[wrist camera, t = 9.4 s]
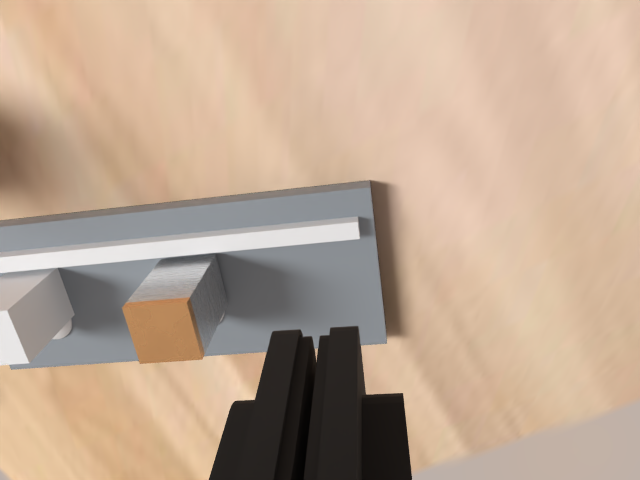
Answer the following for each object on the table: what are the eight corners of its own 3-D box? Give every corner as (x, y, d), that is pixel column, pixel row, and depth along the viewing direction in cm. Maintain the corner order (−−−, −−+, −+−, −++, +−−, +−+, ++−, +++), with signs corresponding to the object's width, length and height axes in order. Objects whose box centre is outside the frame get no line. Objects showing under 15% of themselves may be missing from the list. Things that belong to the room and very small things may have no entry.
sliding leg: (160, 259, 38) (121, 307, 32) (216, 253, 38) (186, 302, 31) (177, 317, 40) (143, 374, 34) (230, 313, 39) (205, 370, 33)
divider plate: (-35, 224, 40) (-118, 270, 33) (370, 180, 36) (370, 221, 30) (22, 358, 45) (-41, 422, 38) (386, 332, 41) (390, 398, 34)
